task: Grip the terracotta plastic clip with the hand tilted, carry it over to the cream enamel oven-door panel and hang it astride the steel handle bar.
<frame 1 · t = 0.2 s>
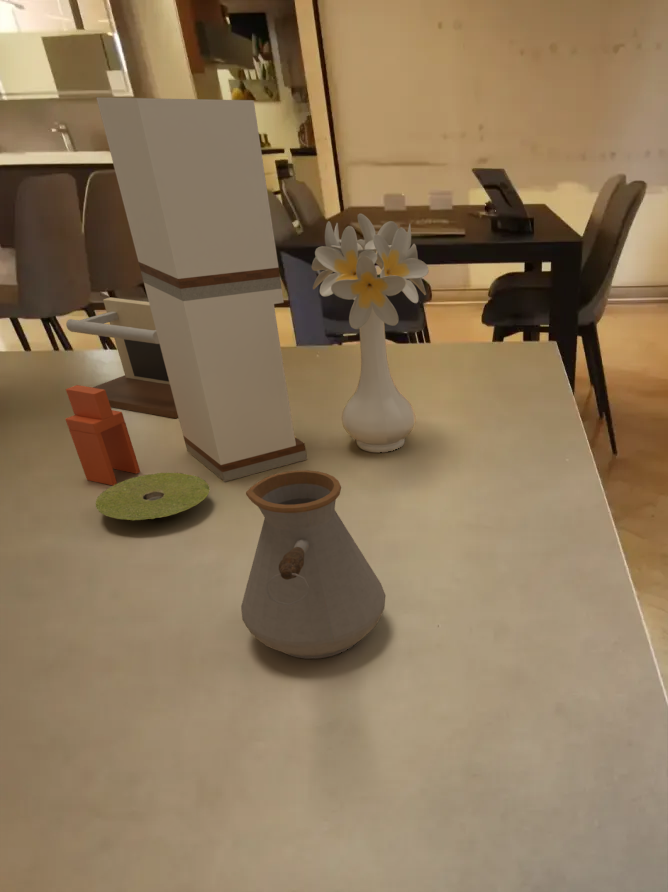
clip: (114, 476, 82), on the table
coffee pot: (319, 669, 55), on the table
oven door: (159, 394, 104), on the table
mat: (159, 512, 75), on the table
white striped pedestal: (246, 456, 87), on the table
flower vase: (385, 447, 90), on the table
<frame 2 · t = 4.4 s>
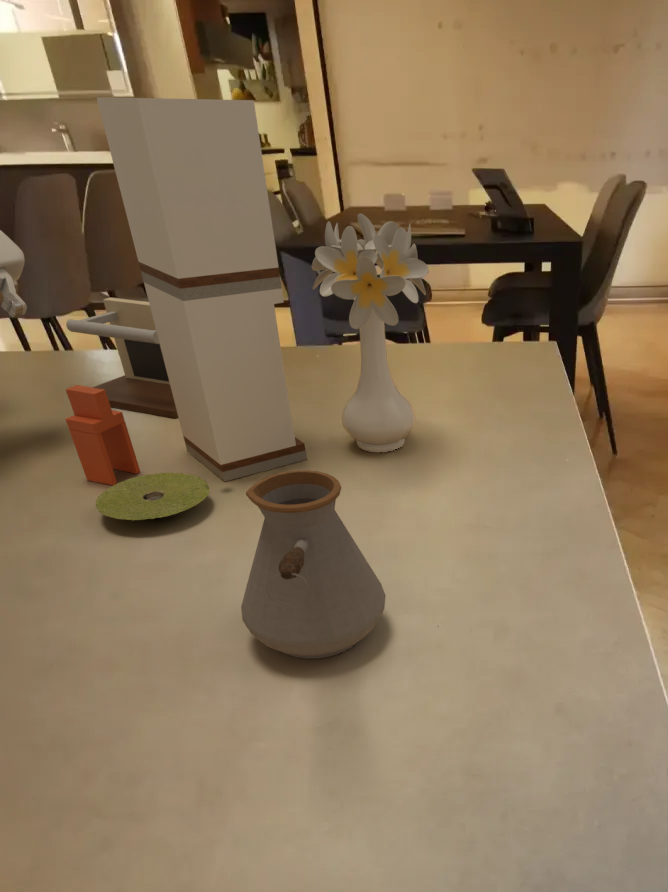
nothing on the table moved.
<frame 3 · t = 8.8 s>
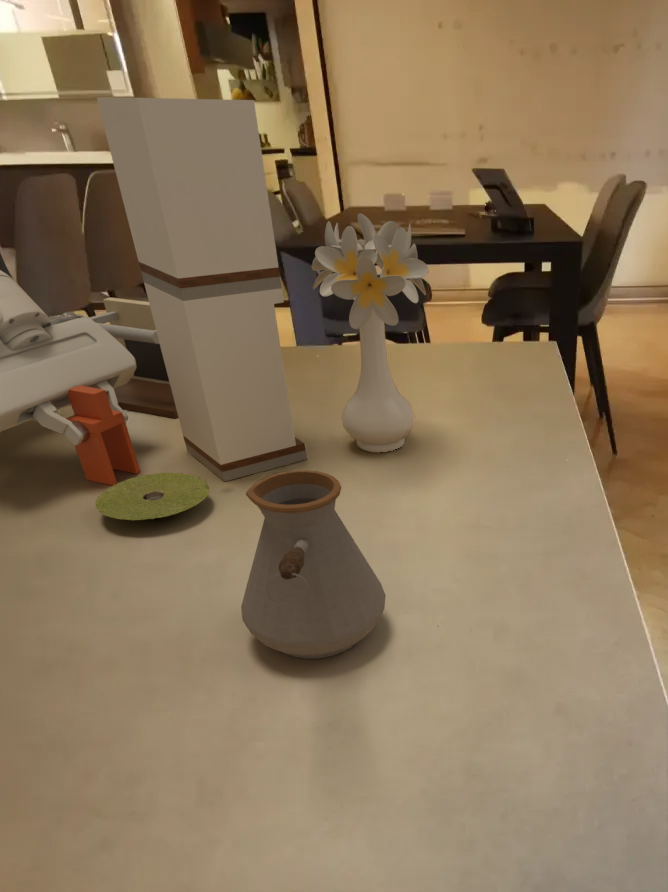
hand: (103, 431, 78), 5 cm above the table, tool tilted 45°, fingers closed on clip, 4 cm apart
clip: (114, 476, 82), on the table, touching gripper
everything else where it was.
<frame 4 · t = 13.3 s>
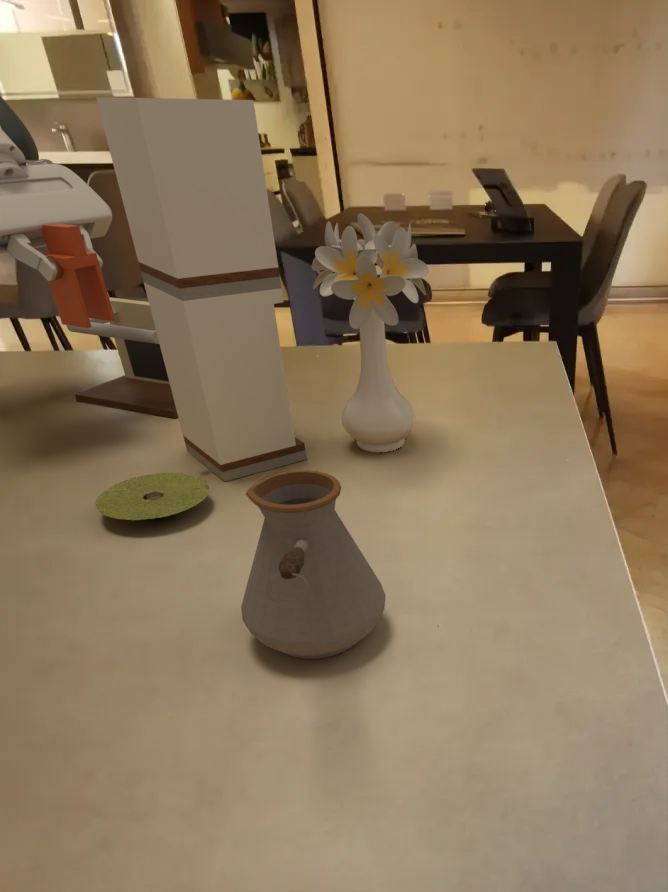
hand: (77, 272, 79), 19 cm above the table, tool tilted 45°, fingers closed on clip, 4 cm apart
clip: (89, 322, 83), point 14 cm above the table, touching gripper
everything else where it was.
when the fingers open (10 cm above the table, at t = 17.9 s): clip stays where it is, resting on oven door.
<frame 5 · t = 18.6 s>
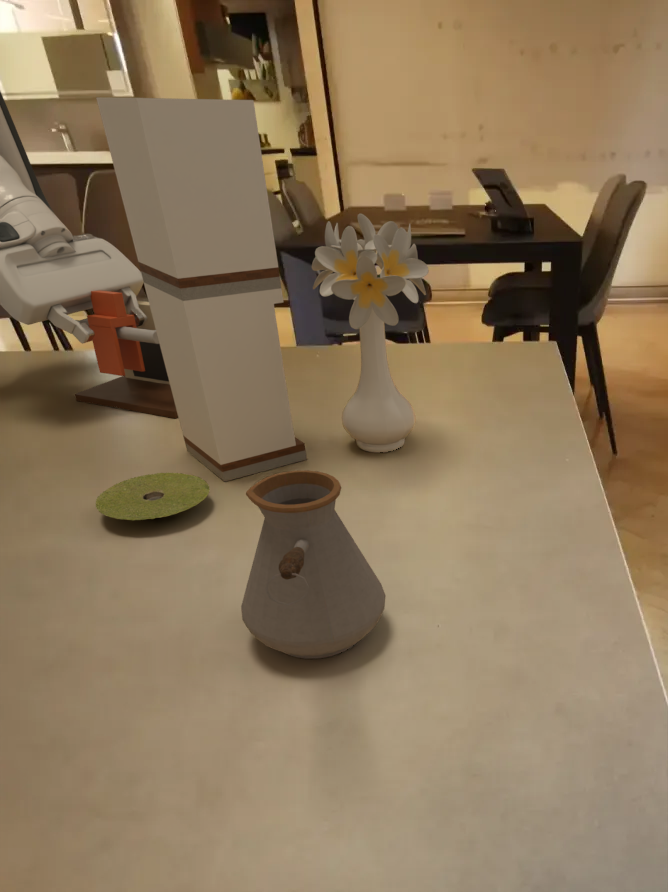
hand: (116, 331, 94), 10 cm above the table, tool tilted 45°, fingers open, 8 cm apart
clip: (122, 371, 97), point 5 cm above the table, tilted 6°, touching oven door
everything else where it was.
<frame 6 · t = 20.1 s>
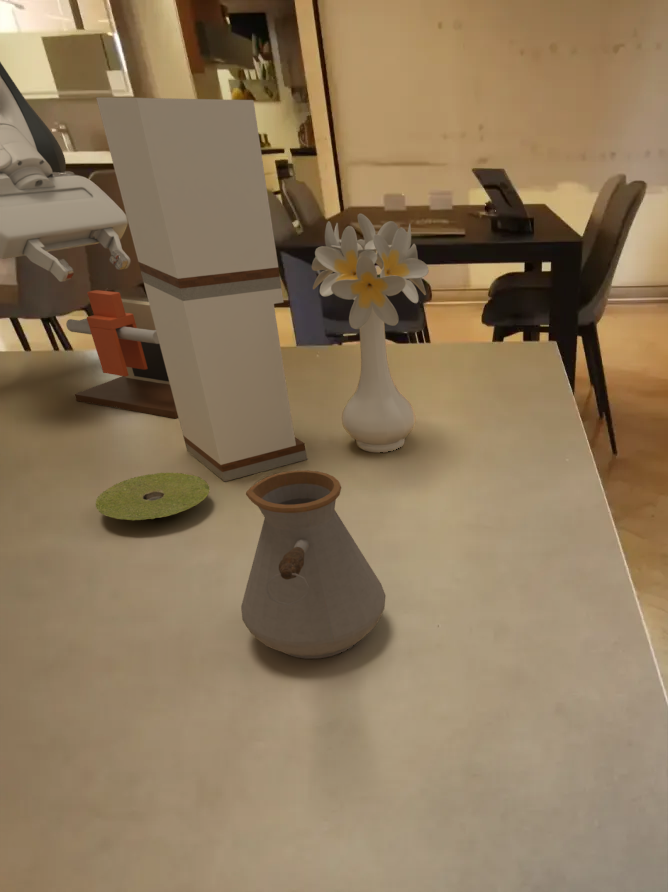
hand: (97, 271, 90), 17 cm above the table, tool tilted 45°, fingers open, 8 cm apart
clip: (125, 370, 98), point 5 cm above the table, touching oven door
everything else where it was.
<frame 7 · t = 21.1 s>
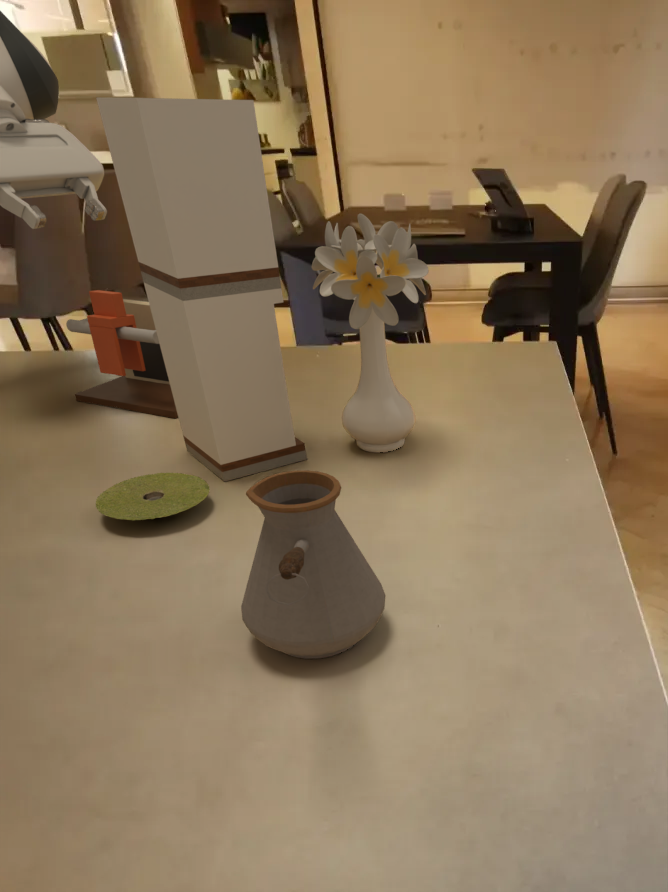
hand: (72, 220, 87), 23 cm above the table, tool tilted 45°, fingers open, 8 cm apart
nothing on the table moved.
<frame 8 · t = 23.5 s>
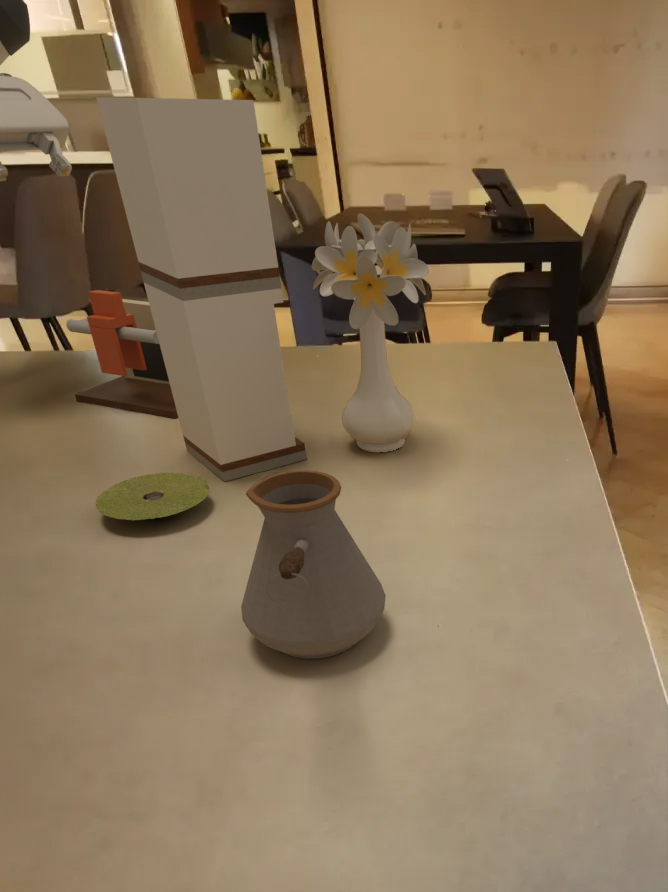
hand: (35, 174, 86), 27 cm above the table, tool tilted 45°, fingers open, 8 cm apart
nothing on the table moved.
at the end: clip 0.2 cm from the target spot on the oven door, point 4.8 cm above the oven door's base; the gripper is holding nothing; clip tilted 2° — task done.
